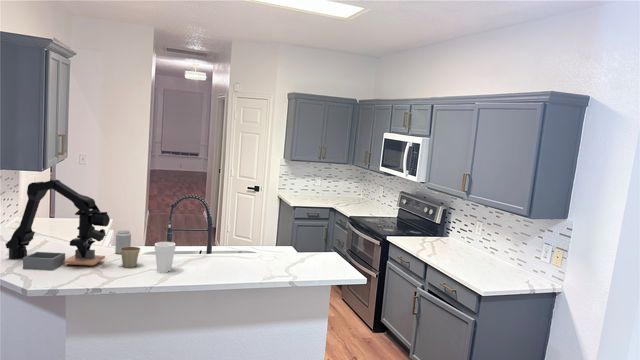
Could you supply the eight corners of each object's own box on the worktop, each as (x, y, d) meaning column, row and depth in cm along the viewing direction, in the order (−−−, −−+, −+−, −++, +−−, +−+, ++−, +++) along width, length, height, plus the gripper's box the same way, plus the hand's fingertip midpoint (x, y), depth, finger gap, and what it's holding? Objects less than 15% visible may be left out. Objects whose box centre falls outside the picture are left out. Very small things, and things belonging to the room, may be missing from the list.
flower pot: (143, 266, 221) (144, 249, 220) (124, 269, 214) (124, 251, 213) (134, 262, 227) (135, 245, 227) (115, 265, 220) (116, 247, 220)
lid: (63, 265, 210) (63, 252, 209) (75, 258, 222) (76, 246, 221) (94, 266, 211) (94, 253, 210) (104, 260, 223) (105, 247, 222)
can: (124, 255, 239) (125, 233, 238) (112, 253, 241) (112, 231, 240) (133, 252, 247) (134, 230, 246) (121, 250, 248) (121, 229, 247)
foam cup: (178, 269, 220) (179, 243, 219) (166, 274, 211) (167, 247, 210) (162, 266, 223) (163, 241, 222) (149, 271, 214) (150, 244, 213)
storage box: (22, 270, 203) (23, 257, 202) (36, 264, 213) (36, 251, 213) (52, 272, 203) (53, 259, 203) (64, 265, 214) (65, 253, 214)
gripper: (94, 229, 206) (93, 262, 207) (111, 222, 225) (109, 253, 226) (69, 227, 205) (68, 261, 207) (88, 220, 224) (87, 251, 225)
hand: (84, 256), depth 216 cm, fingers closed on lid, 2 cm apart
